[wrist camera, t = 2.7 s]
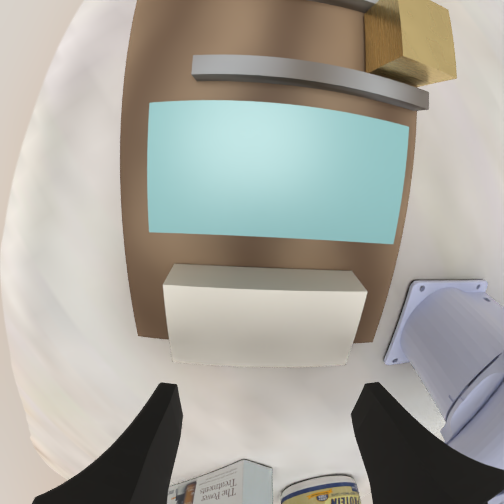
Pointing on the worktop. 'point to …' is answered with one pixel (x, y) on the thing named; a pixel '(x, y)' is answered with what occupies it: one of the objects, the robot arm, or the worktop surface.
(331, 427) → the worktop surface
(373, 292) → the panel
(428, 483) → the robot arm
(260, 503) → the skincare box
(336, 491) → the supplement tub
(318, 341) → the white rectangular block
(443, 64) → the brass slider
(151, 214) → the teal button
